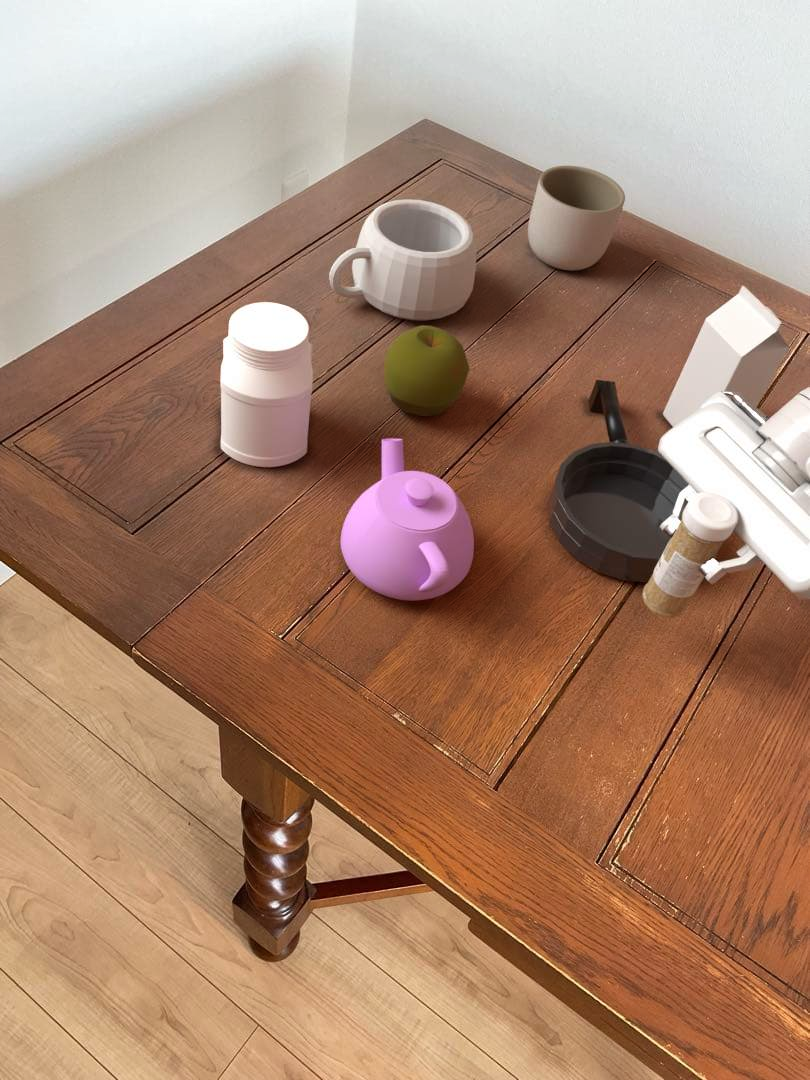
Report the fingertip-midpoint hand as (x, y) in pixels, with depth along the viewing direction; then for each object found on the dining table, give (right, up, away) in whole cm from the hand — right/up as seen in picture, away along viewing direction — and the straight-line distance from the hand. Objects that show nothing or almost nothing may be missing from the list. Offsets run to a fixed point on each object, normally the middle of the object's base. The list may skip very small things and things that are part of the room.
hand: (685, 555), depth 89 cm
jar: (-42, +14, +22) cm, 49 cm away
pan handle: (-1, +14, +29) cm, 33 cm away
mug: (-27, +35, +43) cm, 62 cm away
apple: (-24, +18, +29) cm, 42 cm away
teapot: (-26, 0, +13) cm, 29 cm away
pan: (-1, +3, +20) cm, 20 cm away
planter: (-2, +44, +56) cm, 71 cm away
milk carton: (+11, +15, +33) cm, 39 cm away
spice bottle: (-1, -5, +6) cm, 8 cm away
